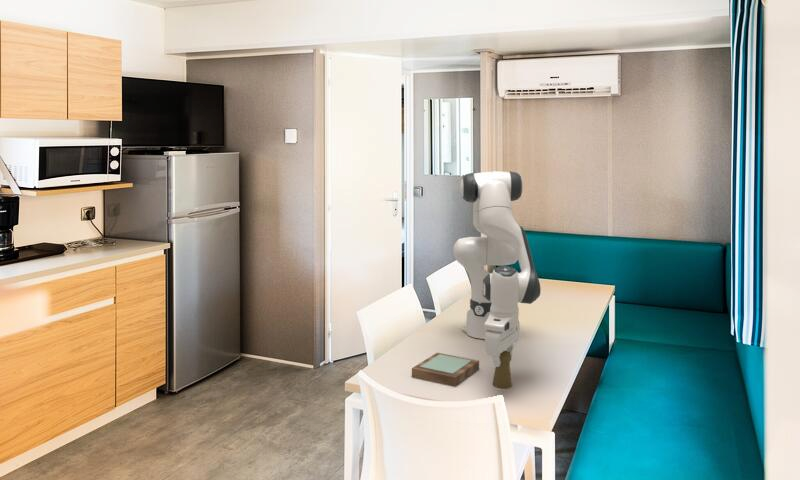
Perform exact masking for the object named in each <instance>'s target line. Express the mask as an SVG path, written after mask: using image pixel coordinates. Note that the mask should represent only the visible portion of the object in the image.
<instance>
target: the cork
mask: <svg viewBox="0 0 800 480" xmlns="http://www.w3.org/2000/svg"><path fill="white" fill-rule="evenodd" d="M499 358H500V360H501V365H500V366H499V367H496V366H494V367H495V368H494V375H493V380H492V386H493V387H495V388H498V389H510V388H511V387H512V386H513V385H512V373H511V365H510V363H511V360H512V357H511V354H510V352H508V351H506V350H505V351H503V352H502V353H501V354H500V357H499Z"/></svg>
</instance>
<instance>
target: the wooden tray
mask: <svg viewBox="0 0 800 480" xmlns="http://www.w3.org/2000/svg"><path fill="white" fill-rule="evenodd" d="M479 369H480V360H477V359H473V358H468V357H463V356H462V357H461V356H457V355H453V354H447V353H442V352H436V353H433V354H432V355H431V356H429V357H427V358H426V359H424V360H422V361H421V362H419V363H418V364H416V365H414V366H413V367H411V378H415V379H420V380H423V381H429V382H433V383H438V384H441V385H442V384H443V385H447V386H452V387H458V386H459V385H460V384H461V383H463V382H464V381H466V380H467V379H468V378H470V376H472V375H473V374H474V373H476V372H477V371H478V370H479Z"/></svg>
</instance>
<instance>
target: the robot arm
mask: <svg viewBox="0 0 800 480" xmlns="http://www.w3.org/2000/svg"><path fill="white" fill-rule="evenodd" d="M522 179H523V178H522V176H521V175H520V174H519V173H518V172H516V171H497V170H496V171H493V170H491V171H483V172H476V173H474V172H471V173H466V174H464V176H462V179H461V181H460V184H459V191H460V195H461V196H462V200H464V201H465V202H468V203H471V204H472V203H473V207H472V208H473V210H472V211H473V213H472V224H473V227H474V228H475V230H477V232H479V233H481V234H482V235H484V236H468V237H462V238H458V239H457V240H456V241H455V242H454V245H453V248H452V252H453V253H452V255H453V256H454V259H455V260H456V261H457V263H458V264H460V265H461V266H462V267H463V268H464V269H465V270H466V272H467V273H468V276H469V281H470V287H471V288H470V289H471V290H470V291H471V293H470V294H471V295H470V296H471V297H470V299H469V308H470V309H468V310H467V312H466V320H465V327H462V332H465V334H466V335H467V336H469V337H471V338H474V339H475V338H476V339H481V340H484V348H485V349H484V350H485V353H486V355H487V356H491V357H492V359H493V366H494V367H499V366H500V365H501V360H500V358H499V357H500V354H501V353H502V352H503V351H508V352H510V354H511V358H512V356H513V350H514V346H515V343H517V342H518V341H519V340H520V336H521V334H520V333H521V332H520V319H519V315H520V312H519V309H520V308H519V304H518V303H520V304H527V305H528V304H529V305H531V304H533V303H535V301H537V300H538V298H540V296H541V287H542V286H541V283H540V279H539V277H538V274H537V271H536V268H535V264H534V261H533V257H532V256H533V255H532V251H531V249H530V245H529V241H528V237H527V233H526V232H525V229H524V228H523V226H522V225H519V223H518V222H517V221H516V220H515V217H514V214H513V205H512V204H513V203H512V202H514V201H517V200H519V199H520V198H521V197H522V193H523V191H524V182H523V180H522ZM517 262H518V264H519V268H520V272H518V270H516V268H514V267H511V266H509V265H513V264H516V263H517ZM486 266H497V267H495V268H493V270H492V272H489V271H487V270H486V269H485V267H486Z"/></svg>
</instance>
